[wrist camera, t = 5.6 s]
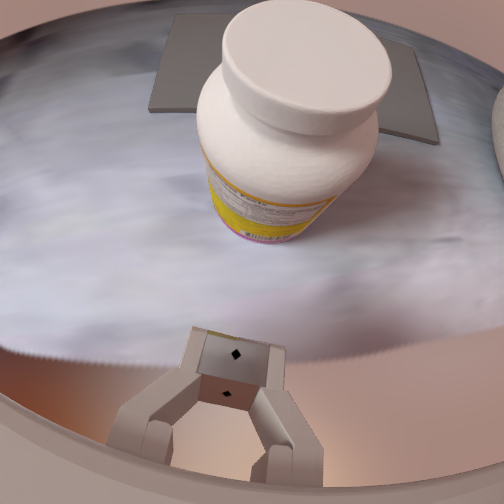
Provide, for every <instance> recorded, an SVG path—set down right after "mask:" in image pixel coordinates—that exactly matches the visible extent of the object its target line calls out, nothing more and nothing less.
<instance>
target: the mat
mask: <svg viewBox="0 0 504 504" xmlns="http://www.w3.org/2000/svg"><path fill="white" fill-rule="evenodd" d="M236 15H237V14H176V15H175V18H174V21H173V24H172V27H171V30H170V33H169V36H168V39H167V42H166V45H165V48H164V51H163V55H162V58H161V61H160V65H159V68H158V72H157V75H156V79H155V83H154V86H153V90H152V94H151V98H150V102H149V106H148V110H149V112H150V113H162V112H197V105H198V101H199V97H200V93H201V91H202V88H203V86H204V84H205V83H206V81H207V79H208V78H209V76H210V75H211V74H212V72H213V71H214V70H215V69H216V68H217V67H218V66H219V65H220V64H221V63H222V40H223V35H224V32H225V30H226V28H227V26H228V24H229V23H230V22H231V21H232V19H233V18H234V17H235V16H236ZM376 37H377V36H376ZM377 38H378V39H379V41H380V42H381V44H382V45H383V46H384V48H385V49H386V52H387V54H388V57H389V59H390V63H391V67H392V79H391V84H390V87H389V89H388V92H387V93H386V95H385V96H384V98H383V99H382V101H381V102H380V104H379V105H378V107H377V108H376V113H377V117H378V129H379V132H382V133H386V134H391V135H396V136H400V137H404V138H409V139H413V140H417V141H421V142H425V143H429V144H432V145H436V144H437V143H438V142H439V141H438V136H437V132H436V127H435V123H434V119H433V115H432V111H431V107H430V103H429V100H428V96H427V92H426V89H425V86H424V82H423V79H422V76H421V73H420V70H419V67H418V64H417V61H416V58H415V55H414V52H413V49H412V47H409V46H406V45H403V44H400V43H397V42H394V41H391V40H387V39H384V38H381V37H377Z"/></svg>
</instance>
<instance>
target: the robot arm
mask: <svg viewBox="0 0 504 504" xmlns="http://www.w3.org/2000/svg"><path fill="white" fill-rule="evenodd" d="M285 354H286V349H285V347H284V346H280V345H274V344H269V343H266V342H261V341H255V340H250V339H245V338H240V337H239V338H237V337H233V336H229V335H225V334H221V333H217V332H214V331H210V330H206V329H202V328H198V327H194V326H193V327H192V329H191V330H190V334H189V337H188V340H187V343H186V346H185V349H184V353H183V356H182V359H181V362H180V366H179V368H175V367H174V368H172V369H171V370H170V371H168V372H167V373H166V374H164V375H163V376H162V377H160V378H159V379H158V380H156V381H155V382H154V383H152V384H151V385H150V386H148V387H147V388H145V389H144V390H143V391H141V392H140V393H139V394H137V395H136V396H135V397H133V398H132V399H130V400H129V401H127V402H126V403H125V404H123V405H122V406H120V408H119V411H118V413H117V416H116V419H115V422H114V424H113V427H112V429H111V432H110V435H109V438H108V441H107V444H106V445H103V444H101V443H98V442H96V441H93V440H91V439H89V438H86V437H84V436H81V435H79V434H77V433H74V432H72V431H70V430H68V429H66V428H63V427H62V426H59V425H57V424H55V423H53V422H51V421H49V420H47V419H45V418H43V417H41V416H39V415H38V414H36V413H34V412H32V411H30V410H28V409H27V408H25V407H23V406H21V405H20V404H18V403H16V402H15V401H13V400H11V399H9V398H8V397H6V396H5V395H3V394H1V393H0V504H504V462H500V463H497V464H493V465H490V466H487V467H483V468H479V469H476V470H472V471H468V472H464V473H459V474H455V475H450V476H445V477H440V478H434V479H428V480H422V481H416V482H408V483H400V484H391V485H379V486H365V487H364V486H363V487H323V447H322V445H321V444H320V442H319V440H318V439H317V437H316V436H315V434H314V433H313V431H312V429H311V428H310V426H309V425H308V423H307V421H306V420H305V418H304V417H303V415H302V413H301V412H300V410H299V408H298V407H297V405H296V403H295V402H294V400H293V398H292V397H291V395H290V394H289V392H288V391H284V375H285ZM198 401H202V402H206V403H211V404H217V405H222V406H226V407H231V408H236V409H240V410H245V411H248V413H249V416H250V418H251V420H252V422H253V425H254V427H255V429H256V431H257V433H258V436H259V438H260V440H261V442H262V444H263V447H264V449H265V451H266V453H265V454H264V455H263V456H262V457H261V458H260V459H259V460H258V461H257V462H256V463H255V464H254V465H253V466H252V470H251V477H250V482H248V481H241V480H234V479H228V478H222V477H216V476H211V475H206V474H201V473H197V472H192V471H187V470H184V469H180V468H176V467H172V466H170V463H171V459H172V454H173V429H172V427H171V426H172V425H174V424H175V423H176V422H177V421H178V420H179V419H180V418H181V417H182V416H183V415H184V414H185V413H187V412H188V411H189V410H190V409H191V408H192V407H193V406H194V405H195V404H196V403H197V402H198Z"/></svg>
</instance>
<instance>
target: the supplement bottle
mask: <svg viewBox="0 0 504 504" xmlns="http://www.w3.org/2000/svg"><path fill="white" fill-rule="evenodd" d="M391 79H392V67H391V63H390V59H389V57H388V54H387V52H386V49H385V48H384V46H383V45H382V44H381V42H380V41H379V39H378V38H377V37H376V36H375V35H374V34H373V33H372V32H371V31H370V30H369V29H368V28H367V27H366V26H364V25H363V24H362V23H360V22H359V21H358V20H356V19H354V18H353V17H351V16H349V15H348V14H346V13H344V12H342V11H339V10H337V9H335V8H332V7H330V6H327V5H323V4H320V3H317V2H312V1H307V0H271V1H265V2H261V3H258V4H255V5H253V6H250V7H248V8H246V9H245V10H243V11H241V12H240V13H239V14H237V15H236V16H235V17H234V18H233V19H232V21H231V22H230V23H229V24H228V26H227V28H226V30H225V32H224V35H223V40H222V63H221V64H220V65H219V66H218V67H217V68H216V69H215V70H214V71H213V72H212V74H211V75H210V76H209V78H208V79H207V81H206V83H205V84H204V86H203V88H202V91H201V93H200V97H199V101H198V105H197V116H196V117H197V128H198V134H199V139H200V144H201V148H202V153H203V157H204V162H205V167H206V172H207V177H208V182H209V187H210V191H211V196H212V200H213V204H214V207H215V210H216V212H217V214H218V216H219V217H220V219H221V220H222V222H223V223H224V224H225V225H226V226H227V227H228V228H229V229H230V230H231V231H232V232H233V233H235V234H236V235H238V236H240V237H241V238H243V239H246V240H248V241H251V242H255V243H261V244H274V243H280V242H284V241H287V240H289V239H292V238H294V237H295V236H297V235H299V234H300V233H301V232H303V231H304V230H305V229H306V228H307V227H308V226H309V225H310V224H311V223H312V222H313V221H314V220H315V219H317V218H318V217H319V216H320V215H321V214H322V213H323V212H324V211H325V210H326V209H327V208H328V207H329V206H330V205H331V204H332V203H333V202H334V201H335V200H336V199H337V198H338V197H339V196H340V195H341V194H342V193H343V192H344V191H345V190H346V189H347V188H348V187H349V186H351V185H352V184H353V183H354V182H355V181H356V180H357V179H358V178H359V177H360V176H361V175H362V173H363V172H364V171H365V170H366V168H367V167H368V165H369V163H370V162H371V160H372V158H373V155H374V153H375V150H376V146H377V141H378V133H379V129H378V117H377V113H376V108H377V107H378V105H379V104H380V102H381V101H382V99H383V98H384V96H385V95H386V93H387V92H388V89H389V87H390V84H391Z"/></svg>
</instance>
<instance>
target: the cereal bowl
mask: <svg viewBox="0 0 504 504" xmlns="http://www.w3.org/2000/svg"><path fill="white" fill-rule="evenodd" d="M492 135H493V143H494V148H495V153H496V157H497V161H498V164H499V167H500V171H501V174H502V176H503V180H504V86H503V88H502V89H501V90H500V92H499V94H498V95H497V98H496V100H495V103H494V106H493V111H492Z"/></svg>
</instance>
